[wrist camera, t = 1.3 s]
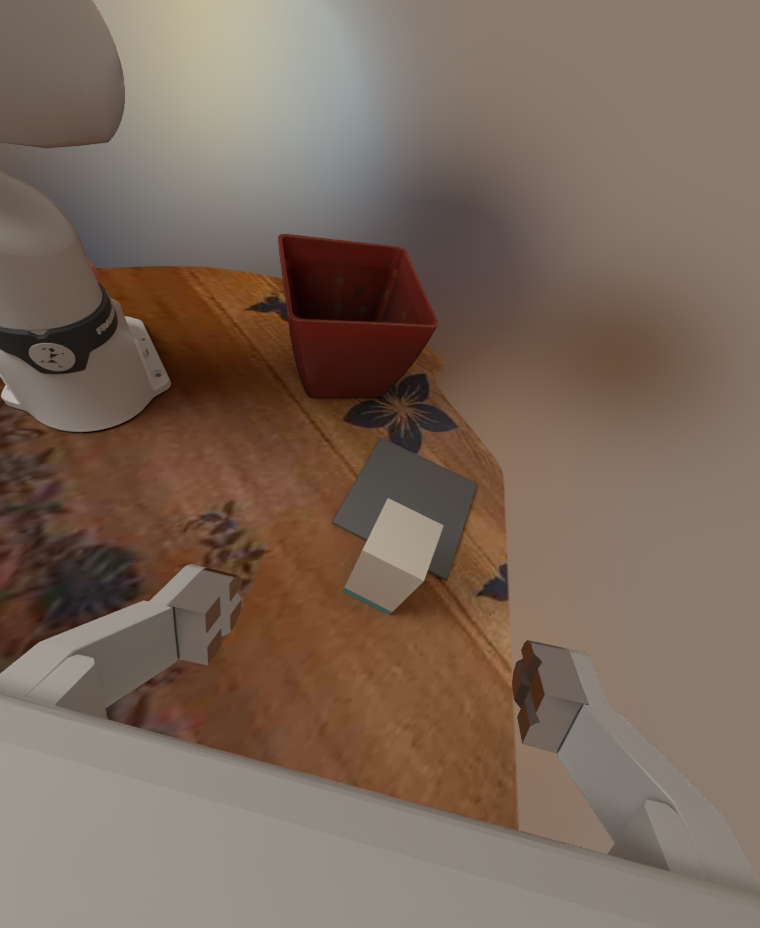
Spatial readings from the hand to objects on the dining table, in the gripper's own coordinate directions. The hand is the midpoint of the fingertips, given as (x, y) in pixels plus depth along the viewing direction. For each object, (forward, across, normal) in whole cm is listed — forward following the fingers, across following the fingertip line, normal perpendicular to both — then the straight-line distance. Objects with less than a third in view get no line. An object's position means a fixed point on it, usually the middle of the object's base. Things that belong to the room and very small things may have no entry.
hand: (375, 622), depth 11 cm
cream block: (+28, +2, +22) cm, 36 cm away
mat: (+38, -1, +16) cm, 42 cm away
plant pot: (+55, +15, +3) cm, 58 cm away
